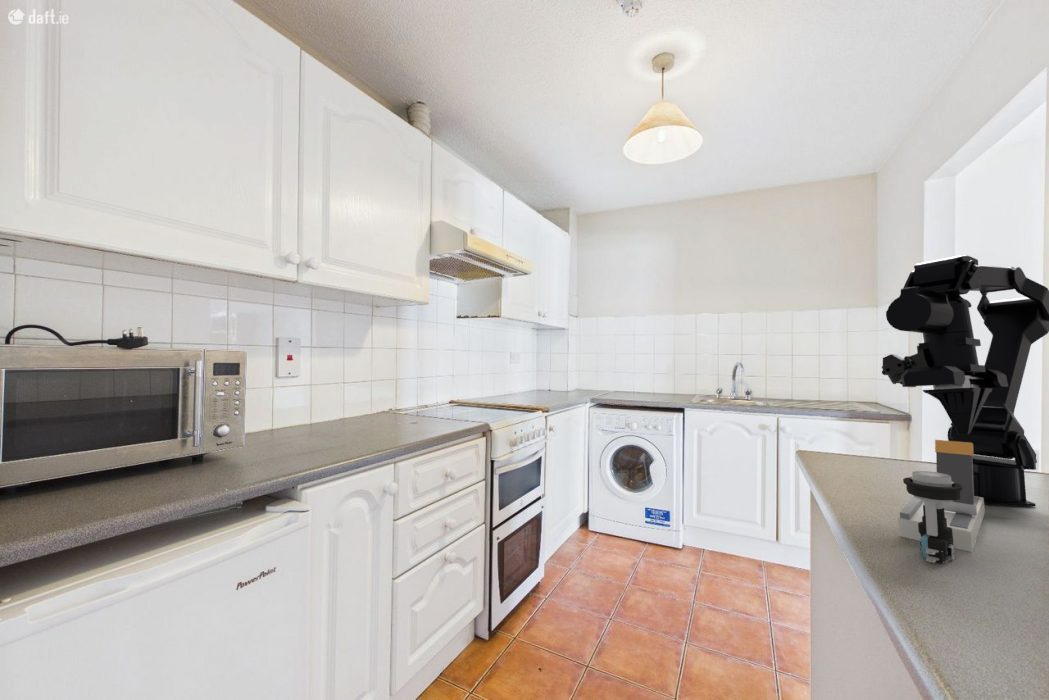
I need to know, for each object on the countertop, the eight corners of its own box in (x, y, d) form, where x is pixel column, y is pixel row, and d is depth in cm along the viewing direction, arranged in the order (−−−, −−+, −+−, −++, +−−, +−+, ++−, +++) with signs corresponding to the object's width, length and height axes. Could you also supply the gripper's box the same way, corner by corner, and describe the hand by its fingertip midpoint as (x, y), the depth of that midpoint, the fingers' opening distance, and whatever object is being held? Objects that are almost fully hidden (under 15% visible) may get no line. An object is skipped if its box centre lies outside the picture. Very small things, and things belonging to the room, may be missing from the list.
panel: (923, 503, 72) (922, 483, 72) (984, 513, 66) (983, 492, 66) (899, 536, 59) (897, 511, 59) (972, 552, 54) (970, 525, 54)
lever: (936, 509, 62) (935, 441, 64) (976, 516, 59) (974, 445, 61) (934, 508, 61) (934, 439, 63) (975, 515, 58) (973, 442, 60)
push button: (961, 574, 48) (955, 484, 49) (900, 558, 52) (894, 476, 53) (971, 557, 52) (965, 474, 53) (913, 543, 56) (908, 467, 57)
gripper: (915, 346, 80) (928, 431, 77) (857, 339, 72) (870, 434, 69) (1000, 336, 70) (1018, 433, 67) (943, 326, 62) (962, 436, 59)
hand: (964, 434), depth 66 cm, fingers closed
